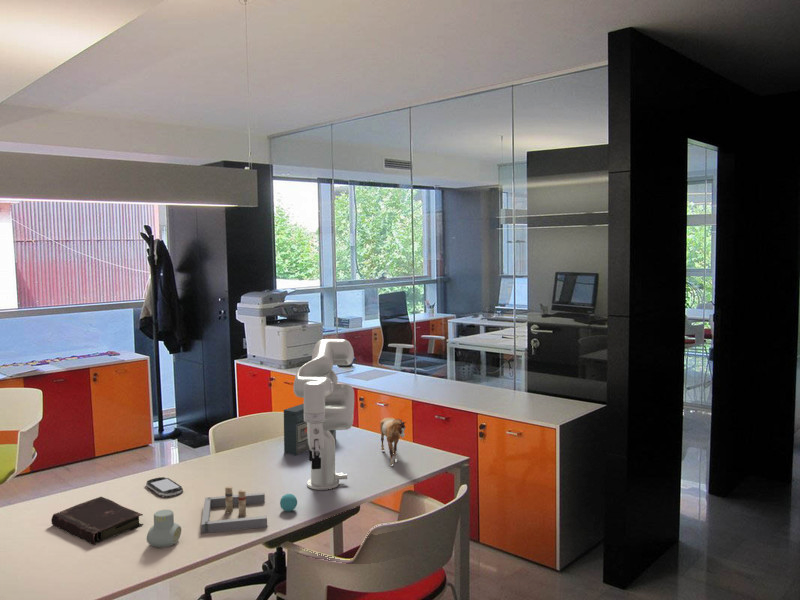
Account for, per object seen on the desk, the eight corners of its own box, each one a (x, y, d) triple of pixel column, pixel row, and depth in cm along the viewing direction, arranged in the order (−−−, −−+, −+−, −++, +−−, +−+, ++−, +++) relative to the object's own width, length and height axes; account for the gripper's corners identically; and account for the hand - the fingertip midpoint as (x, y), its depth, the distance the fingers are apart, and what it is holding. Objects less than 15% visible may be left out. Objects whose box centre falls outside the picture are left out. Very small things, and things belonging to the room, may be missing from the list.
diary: (92, 548, 202) (92, 533, 202) (51, 528, 216) (50, 514, 216) (145, 526, 217) (145, 511, 217) (104, 508, 232) (103, 495, 231)
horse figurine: (406, 469, 271) (406, 421, 270) (388, 470, 270) (388, 422, 268) (393, 446, 302) (393, 403, 300) (377, 447, 300) (377, 404, 299)
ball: (296, 506, 233) (296, 490, 232) (298, 513, 227) (297, 496, 226) (279, 508, 231) (279, 491, 231) (280, 514, 225) (280, 498, 225)
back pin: (232, 509, 230) (232, 486, 229) (232, 512, 228) (232, 488, 227) (225, 510, 229) (225, 486, 229) (225, 513, 227) (225, 489, 226)
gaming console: (143, 486, 253) (142, 480, 253) (165, 480, 259) (165, 474, 259) (163, 500, 239) (163, 494, 239) (186, 494, 245) (186, 487, 245)
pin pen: (264, 500, 238) (264, 492, 238) (267, 526, 216) (267, 518, 216) (205, 505, 233) (205, 497, 233) (201, 533, 211) (201, 524, 211)
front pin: (246, 513, 227) (245, 489, 226) (246, 516, 224) (245, 492, 223) (238, 514, 226) (238, 490, 225) (238, 516, 224) (238, 492, 223)
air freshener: (158, 535, 209) (157, 505, 209) (183, 535, 209) (182, 506, 208) (144, 551, 199) (143, 520, 198) (170, 552, 198) (169, 520, 197)
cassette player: (295, 455, 289) (295, 412, 287) (284, 453, 292) (283, 409, 291) (335, 439, 313) (335, 398, 312) (324, 437, 317) (324, 397, 315)
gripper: (328, 422, 221) (328, 472, 222) (322, 409, 238) (322, 456, 239) (306, 423, 219) (306, 473, 221) (301, 411, 236) (302, 457, 237)
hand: (314, 464), depth 230 cm, fingers open, 8 cm apart
